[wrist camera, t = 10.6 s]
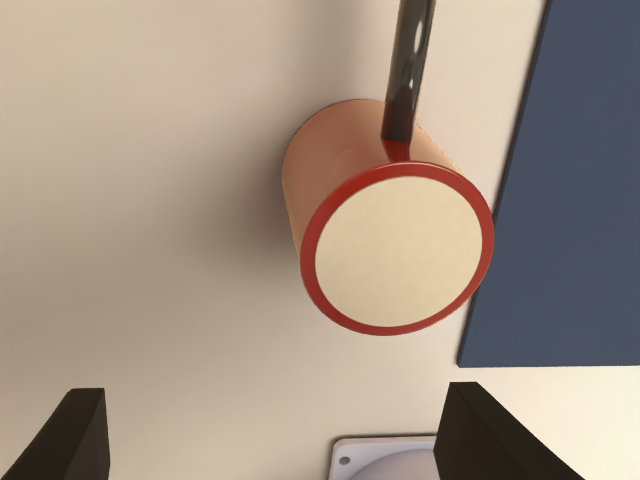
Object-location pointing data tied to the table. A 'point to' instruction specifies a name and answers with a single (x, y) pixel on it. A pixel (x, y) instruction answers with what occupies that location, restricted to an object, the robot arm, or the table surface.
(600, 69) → the cloth
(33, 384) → the table surface
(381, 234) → the pot
